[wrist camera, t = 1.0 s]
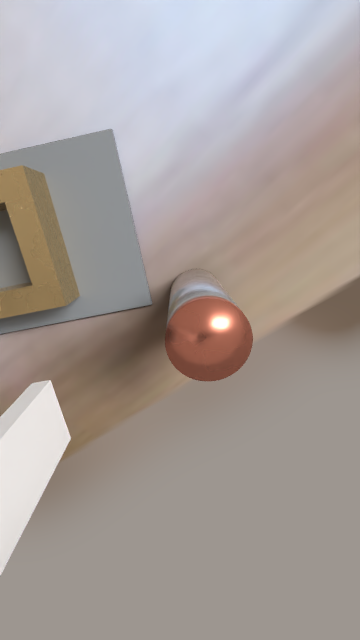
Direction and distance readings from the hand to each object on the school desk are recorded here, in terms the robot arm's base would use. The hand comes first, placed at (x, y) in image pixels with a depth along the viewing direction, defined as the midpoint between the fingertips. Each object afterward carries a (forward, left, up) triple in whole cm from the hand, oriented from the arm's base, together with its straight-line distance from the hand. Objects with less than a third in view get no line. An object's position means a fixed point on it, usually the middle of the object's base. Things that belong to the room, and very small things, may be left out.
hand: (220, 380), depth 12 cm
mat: (-14, +7, -17) cm, 23 cm away
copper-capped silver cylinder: (0, 0, -17) cm, 17 cm away
